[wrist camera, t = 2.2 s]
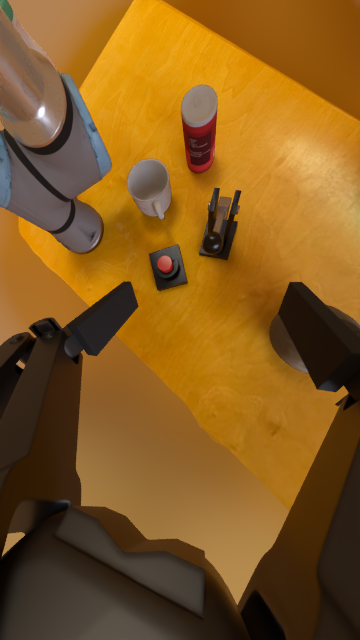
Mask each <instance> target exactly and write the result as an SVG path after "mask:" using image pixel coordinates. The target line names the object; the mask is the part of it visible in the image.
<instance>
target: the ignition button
mask: <svg viewBox="0 0 360 640" xmlns="http://www.w3.org/2000/svg"><path fill="white" fill-rule="evenodd" d="M157 265H158V268H159V269H160V270H161V271H162V272H164V273H168V272H170V271H171V270H172V269H173V262H172V260H171V258H170V257H168V256H162V257H160V258H159V260H158V263H157Z"/></svg>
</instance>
